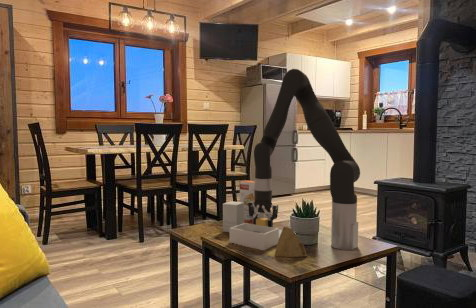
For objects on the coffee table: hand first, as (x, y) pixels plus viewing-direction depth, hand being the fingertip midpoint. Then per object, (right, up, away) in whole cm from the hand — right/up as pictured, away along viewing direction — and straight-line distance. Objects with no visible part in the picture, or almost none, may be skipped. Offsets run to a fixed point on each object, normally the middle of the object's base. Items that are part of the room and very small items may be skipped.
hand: (262, 227), depth 161 cm
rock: (+8, -5, -28) cm, 29 cm away
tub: (-4, -4, -13) cm, 14 cm away
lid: (+4, -3, -2) cm, 6 cm away
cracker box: (-3, -3, +17) cm, 17 cm away
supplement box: (-13, -3, +7) cm, 15 cm away
